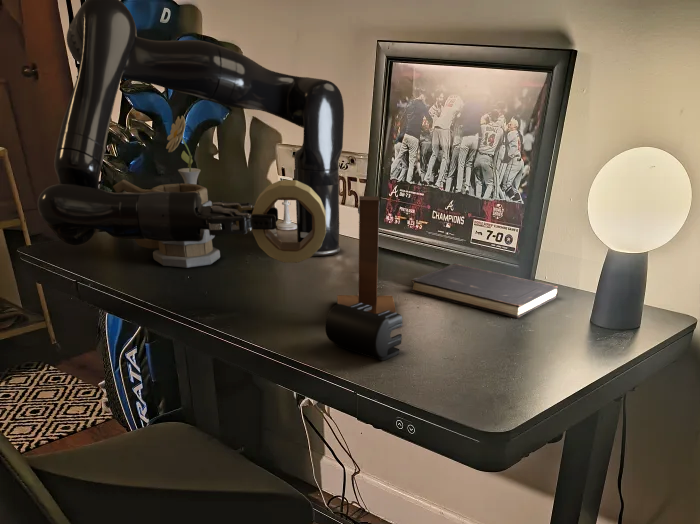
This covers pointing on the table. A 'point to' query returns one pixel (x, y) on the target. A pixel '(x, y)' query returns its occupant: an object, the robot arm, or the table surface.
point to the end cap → (364, 330)
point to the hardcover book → (485, 290)
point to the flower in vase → (175, 138)
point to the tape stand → (368, 260)
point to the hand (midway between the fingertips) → (276, 218)
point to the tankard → (177, 251)
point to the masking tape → (310, 201)
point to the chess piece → (286, 219)
